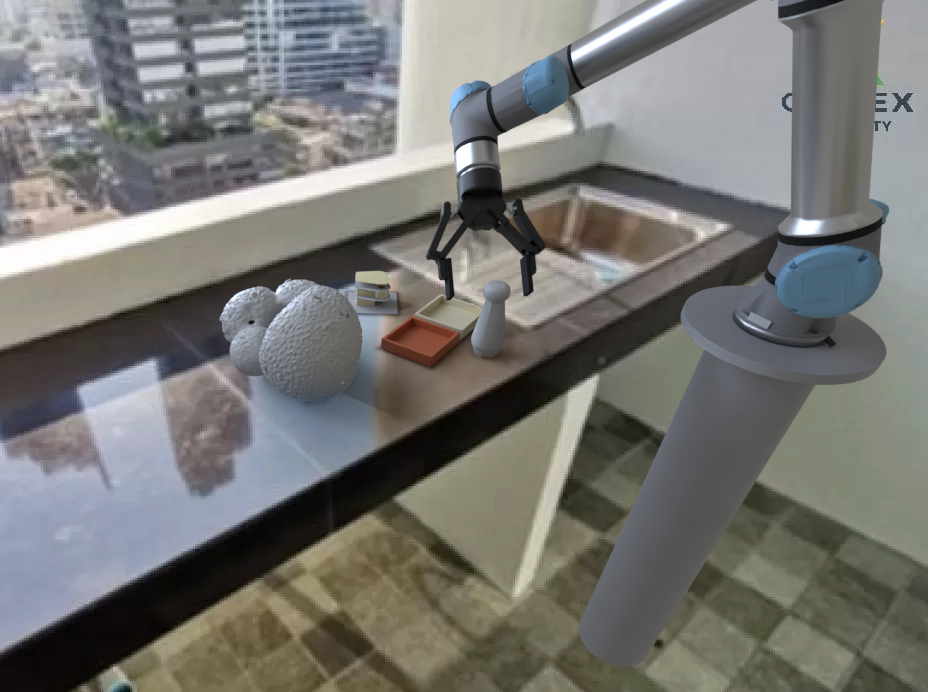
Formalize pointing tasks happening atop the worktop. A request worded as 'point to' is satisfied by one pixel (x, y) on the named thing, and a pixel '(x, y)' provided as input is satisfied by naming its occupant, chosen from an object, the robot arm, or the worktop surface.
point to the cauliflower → (295, 338)
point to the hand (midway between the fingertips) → (489, 296)
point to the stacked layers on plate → (373, 294)
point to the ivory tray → (451, 314)
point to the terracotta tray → (420, 340)
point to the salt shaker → (491, 320)
